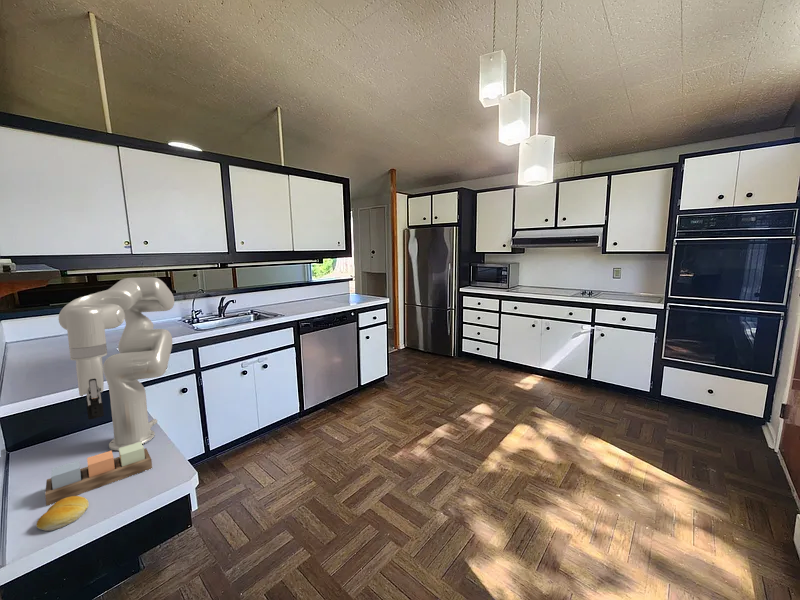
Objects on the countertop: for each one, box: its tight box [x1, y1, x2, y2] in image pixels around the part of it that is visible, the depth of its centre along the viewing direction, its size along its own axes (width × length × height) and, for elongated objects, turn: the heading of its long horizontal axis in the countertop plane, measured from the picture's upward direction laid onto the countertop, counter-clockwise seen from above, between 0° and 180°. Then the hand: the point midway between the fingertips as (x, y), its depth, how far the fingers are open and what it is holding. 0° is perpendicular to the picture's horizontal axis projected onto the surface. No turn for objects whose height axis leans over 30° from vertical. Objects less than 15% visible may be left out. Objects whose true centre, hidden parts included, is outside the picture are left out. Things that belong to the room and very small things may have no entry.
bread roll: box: [36, 495, 90, 532], centre depth 81 cm, size 8×9×4 cm
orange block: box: [86, 449, 115, 478], centre depth 96 cm, size 5×5×4 cm
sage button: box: [118, 442, 145, 467], centre depth 101 cm, size 5×5×4 cm
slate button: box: [50, 459, 81, 490], centre depth 91 cm, size 5×5×4 cm
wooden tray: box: [44, 447, 153, 506], centre depth 96 cm, size 22×9×3 cm, turn 135°
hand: (95, 414), depth 94 cm, fingers open, 3 cm apart
